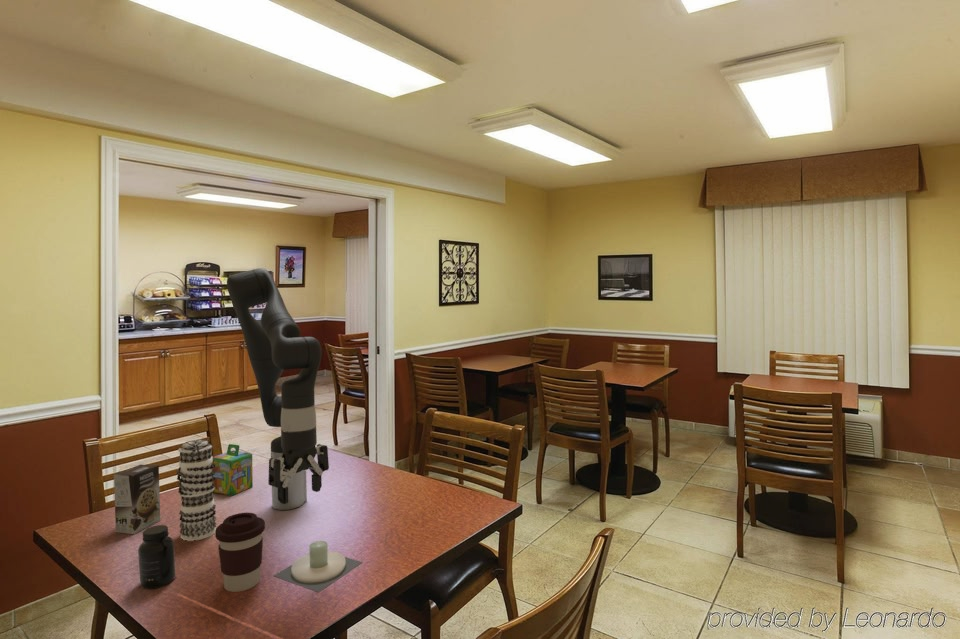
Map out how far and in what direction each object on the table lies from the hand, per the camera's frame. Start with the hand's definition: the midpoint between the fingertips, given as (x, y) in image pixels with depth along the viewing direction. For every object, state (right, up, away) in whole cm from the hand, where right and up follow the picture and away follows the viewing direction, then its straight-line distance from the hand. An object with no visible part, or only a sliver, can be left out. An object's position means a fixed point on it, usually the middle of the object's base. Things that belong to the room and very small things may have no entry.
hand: (300, 496), depth 118 cm
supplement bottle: (-32, -19, -1) cm, 37 cm away
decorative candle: (-35, -18, +23) cm, 45 cm away
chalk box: (-41, -16, +54) cm, 70 cm away
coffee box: (-54, -18, +27) cm, 63 cm away
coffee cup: (-12, -19, -2) cm, 23 cm away
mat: (+3, -18, +3) cm, 19 cm away
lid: (+3, -18, +3) cm, 18 cm away
